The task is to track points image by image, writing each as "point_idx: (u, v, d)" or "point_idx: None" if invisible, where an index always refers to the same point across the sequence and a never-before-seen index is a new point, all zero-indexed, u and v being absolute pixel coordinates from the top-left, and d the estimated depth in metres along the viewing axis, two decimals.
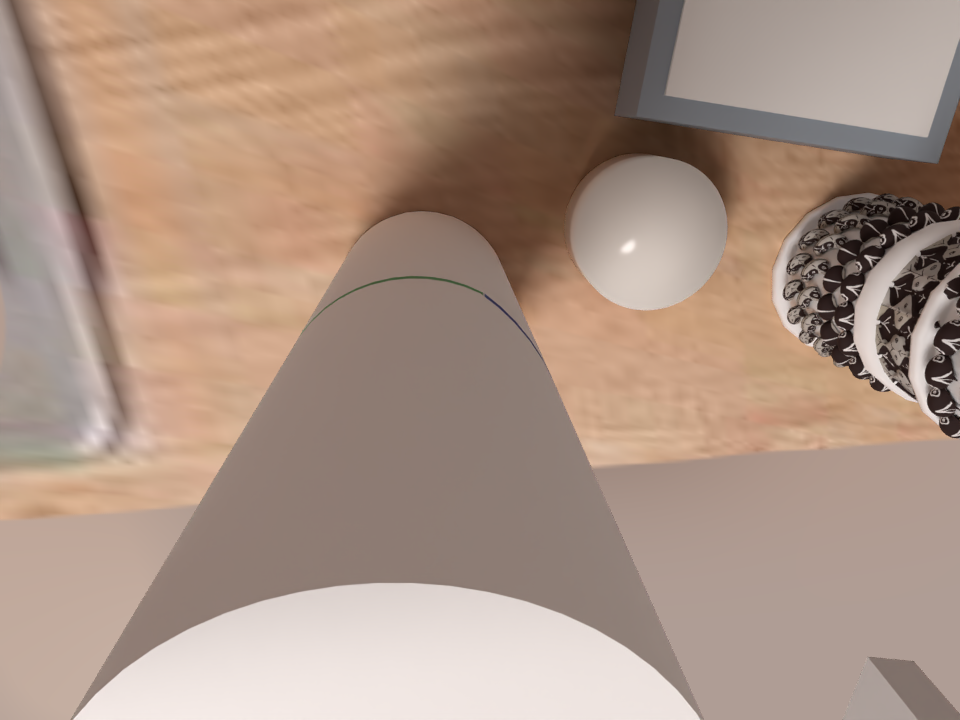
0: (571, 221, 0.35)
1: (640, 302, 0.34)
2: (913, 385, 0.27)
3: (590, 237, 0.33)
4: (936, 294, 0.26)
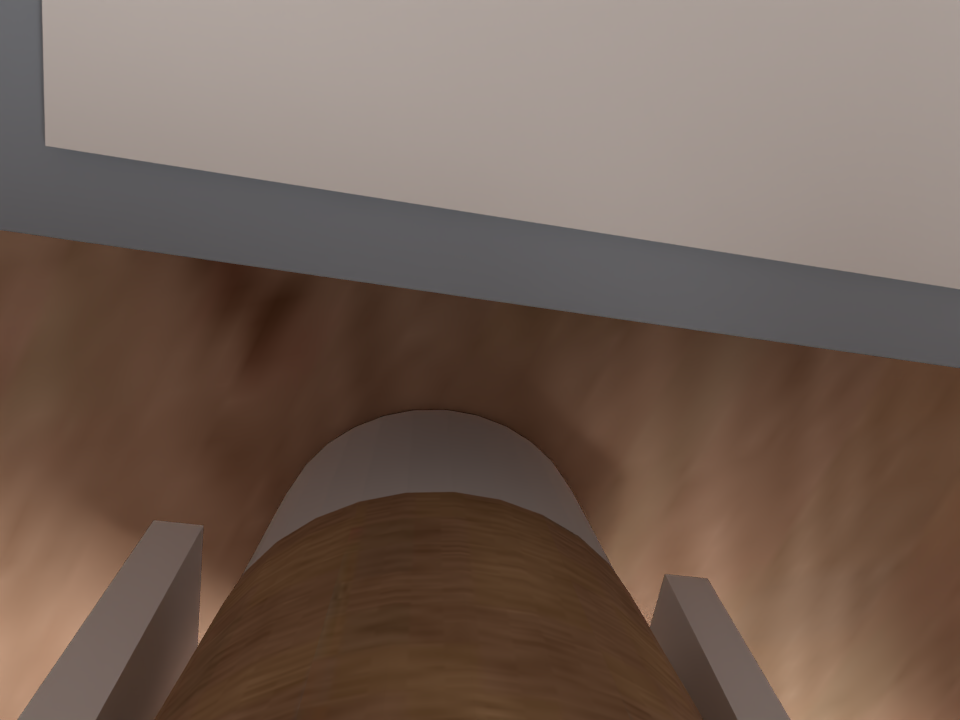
0: None
1: None
2: None
3: None
4: None
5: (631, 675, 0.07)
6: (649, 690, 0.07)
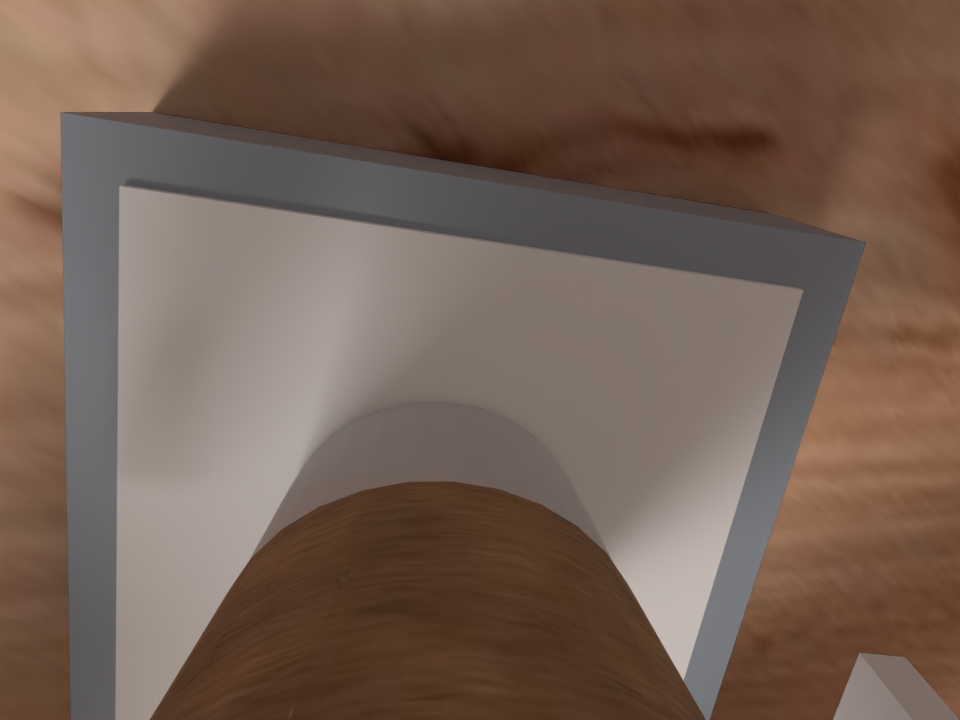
0: None
1: None
2: None
3: None
4: None
5: (624, 657, 0.07)
6: (641, 672, 0.07)
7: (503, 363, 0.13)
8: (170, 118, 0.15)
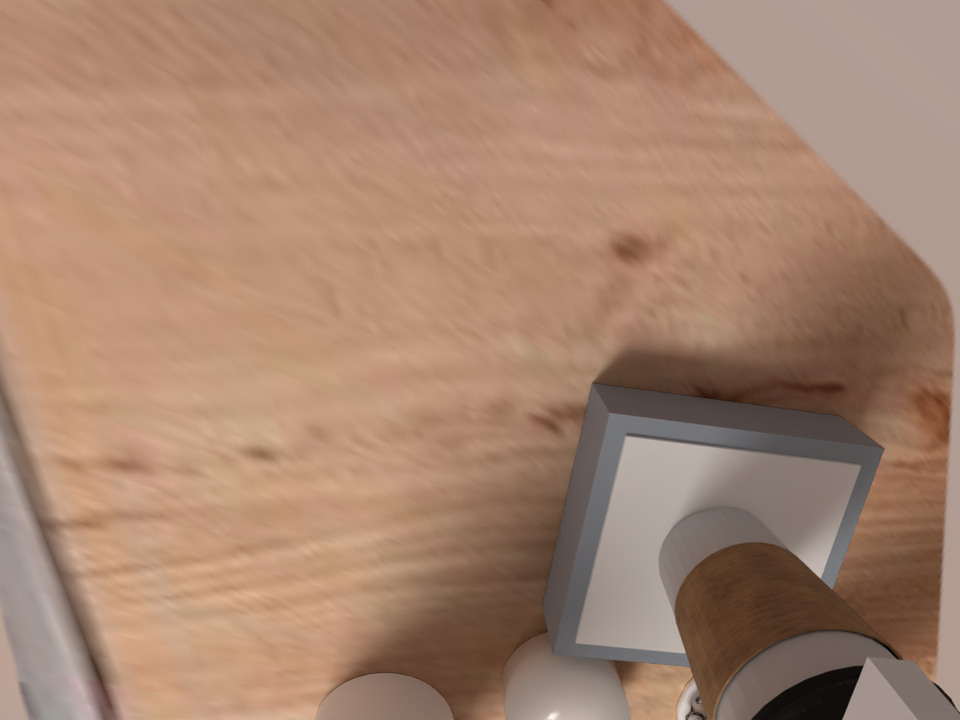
0: (505, 696, 0.42)
1: None
2: None
3: None
4: None
5: (830, 590, 0.30)
6: (834, 593, 0.30)
7: (749, 492, 0.36)
8: (610, 392, 0.37)
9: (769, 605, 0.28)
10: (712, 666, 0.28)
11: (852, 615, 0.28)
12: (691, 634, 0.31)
